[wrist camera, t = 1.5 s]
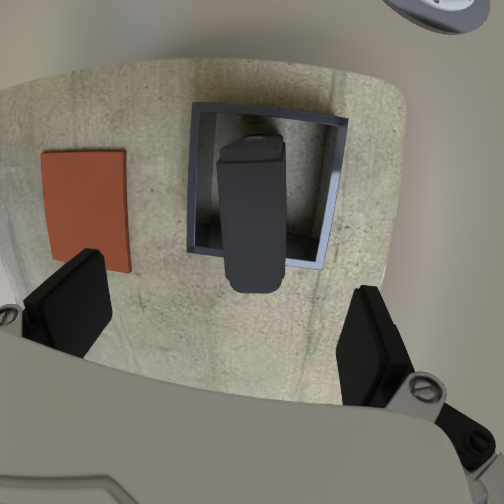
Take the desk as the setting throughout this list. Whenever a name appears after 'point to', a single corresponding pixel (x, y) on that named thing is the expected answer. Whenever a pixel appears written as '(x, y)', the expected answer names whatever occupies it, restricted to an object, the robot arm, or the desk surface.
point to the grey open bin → (200, 180)
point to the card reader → (253, 212)
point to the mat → (87, 205)
